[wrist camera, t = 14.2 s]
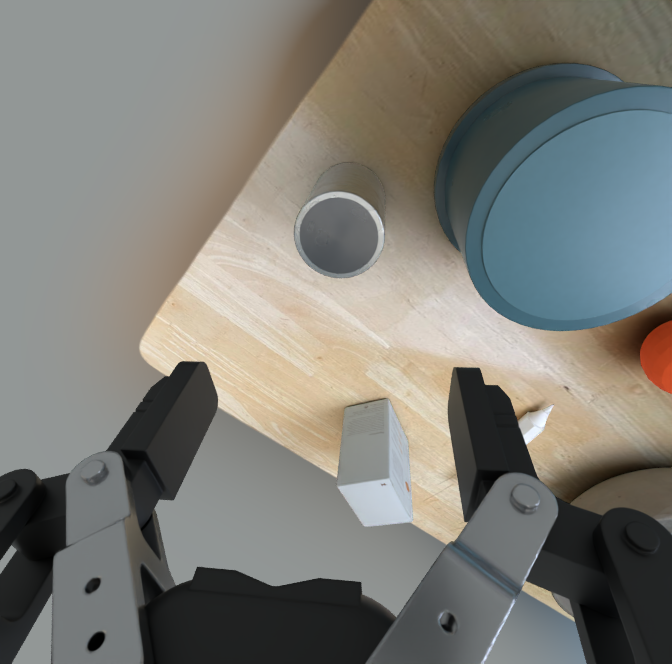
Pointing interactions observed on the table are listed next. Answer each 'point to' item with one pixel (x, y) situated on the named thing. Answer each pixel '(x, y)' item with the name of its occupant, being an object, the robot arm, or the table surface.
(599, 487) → the bowl
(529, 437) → the white pencil
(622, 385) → the table surface
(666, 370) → the clementine
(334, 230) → the cup
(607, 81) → the blue flanged cylinder
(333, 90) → the table surface
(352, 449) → the small box
